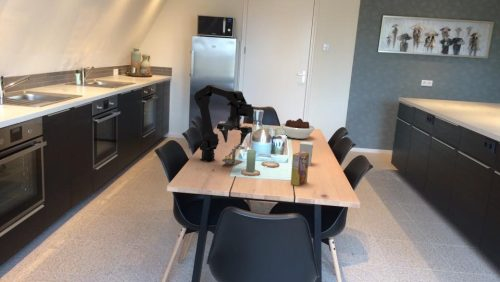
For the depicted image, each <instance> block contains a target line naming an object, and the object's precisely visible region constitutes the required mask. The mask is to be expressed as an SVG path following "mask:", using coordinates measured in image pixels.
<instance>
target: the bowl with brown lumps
mask: <svg viewBox="0 0 500 282" xmlns="http://www.w3.org/2000/svg"><path fill="white" fill-rule="evenodd" d="M281 128H282V130H283V132H284V134H285V136H286V135H287V136H286V137H288V138H291V139H294V138H295V140H301V139H307V138H309V137H310V136H311V134H312V133H313V132H314V130H315V127H314V126H313V125H311V124H310V122H309V121H303V119H302V118H298V119H296V120H292V119H288V120H286V121H285V123H282V124H281Z"/></svg>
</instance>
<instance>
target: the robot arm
mask: <svg viewBox="0 0 500 282" xmlns="http://www.w3.org/2000/svg"><path fill="white" fill-rule="evenodd" d="M214 95H217V96H221V97H224V98H225V99H226V100H227V101H228V103H227V104H226V106H229V116H228V117H227V120H226V121H224V122H219V123H217V124H216V130H218V131H219V132H221V134H222V137H223V140H224V143H228V136H229V132H231V131H233V130H234V131H240V141H239V144H240V146H243V144H244V141H245V140H246V137H247V136H248V134H251V133H252V132H253V127H252V126H248V125H247V126H246V125H244V126H242V124H241V119H242V117H243V118H249V119H250V118H252V117H253V115H254V113H255V111H254V108H253V105H252V104H251V103H248V102H247V100H246V98H245V96H244V93H243V91H240V90H232V89H231V90H230V89H226V88H224V87H220V86H217V85H214V84H207V85H206V86H205V87H203V88H201V89H199V90H197V91H196V92H195V93H194V95H193V98H194V102H195V104H196V105H197V107H198V108H199V110H200V117H201V121H202V126H203V132H204V134H203V137H202V142H201V144H200V145H199V146H198V147H199V150H200V151H201V158H200V159H199V160H200V161H203V162H207V163H208V162H209V163H210V162H213V161H215V160H216V158H215V156H216V155H215V150H217V147H218V145H219V144H220V143H219V141H220V139H219V135H218V134H219V133H215V132H214V128H213V124H212V118H211V114H210V108H209V106H210V102H211V99H210V98H211V97H212V96H214Z"/></svg>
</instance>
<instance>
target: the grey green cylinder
mask: <svg viewBox="0 0 500 282" xmlns="http://www.w3.org/2000/svg"><path fill="white" fill-rule="evenodd" d="M256 155H257V151H256V150H255V149H248V150H247V151H246V167H245V169H246V172H249V173H253V172H255V170H256V158H257V157H256Z"/></svg>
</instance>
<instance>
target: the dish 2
mask: <svg viewBox="0 0 500 282" xmlns="http://www.w3.org/2000/svg"><path fill="white" fill-rule="evenodd" d="M262 165H263V167H265V166H267V168H278V167H280V163H278V162H277V161H276V162H275V161H268V160H267V161H261V166H262Z"/></svg>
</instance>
